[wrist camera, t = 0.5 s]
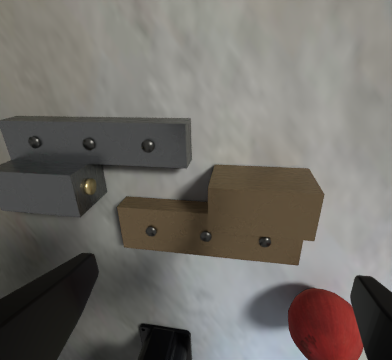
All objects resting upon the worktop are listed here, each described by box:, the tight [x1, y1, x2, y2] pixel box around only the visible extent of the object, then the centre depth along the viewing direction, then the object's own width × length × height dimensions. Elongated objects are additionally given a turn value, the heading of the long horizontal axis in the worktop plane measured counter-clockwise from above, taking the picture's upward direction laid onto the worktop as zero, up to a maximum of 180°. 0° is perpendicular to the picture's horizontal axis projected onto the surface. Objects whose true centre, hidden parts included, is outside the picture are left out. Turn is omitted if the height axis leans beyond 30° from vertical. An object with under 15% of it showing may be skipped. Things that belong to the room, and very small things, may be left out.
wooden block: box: [117, 165, 324, 265], centre depth 21 cm, size 8×16×4 cm, turn 91°
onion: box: [288, 288, 363, 360], centre depth 22 cm, size 6×6×8 cm
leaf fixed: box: [0, 116, 192, 217], centre depth 21 cm, size 7×17×4 cm, turn 91°
